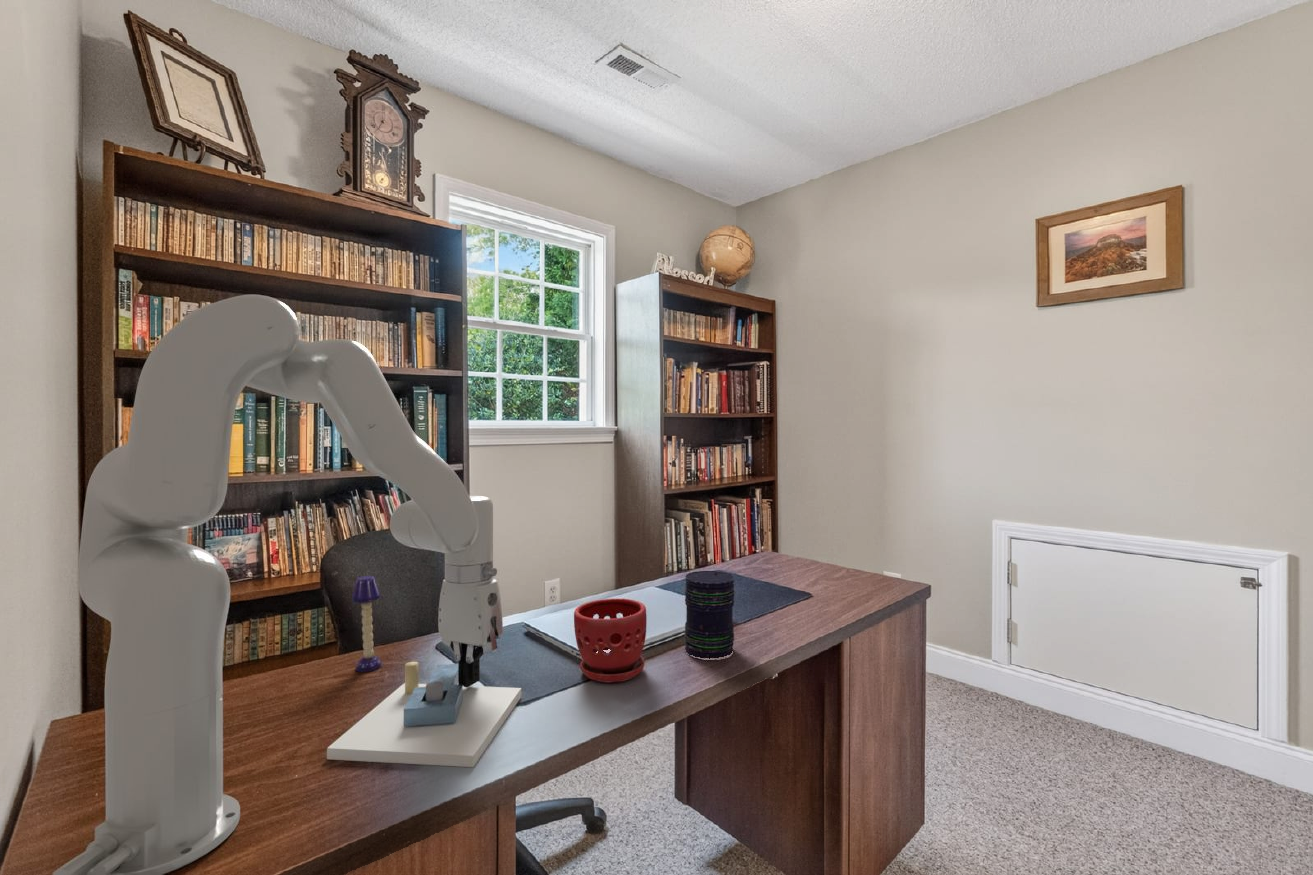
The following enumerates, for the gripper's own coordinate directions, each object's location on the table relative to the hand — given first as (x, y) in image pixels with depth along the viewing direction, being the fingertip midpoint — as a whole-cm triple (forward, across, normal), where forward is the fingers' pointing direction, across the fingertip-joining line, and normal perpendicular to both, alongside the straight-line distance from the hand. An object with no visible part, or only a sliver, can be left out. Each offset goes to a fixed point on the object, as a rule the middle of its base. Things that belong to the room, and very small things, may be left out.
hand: (469, 683), depth 95 cm
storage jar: (+3, -29, -36) cm, 46 cm away
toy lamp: (+3, +25, -1) cm, 26 cm away
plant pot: (+3, -16, -18) cm, 25 cm away
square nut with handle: (+1, +1, +6) cm, 6 cm away
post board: (+2, -2, +9) cm, 10 cm away
